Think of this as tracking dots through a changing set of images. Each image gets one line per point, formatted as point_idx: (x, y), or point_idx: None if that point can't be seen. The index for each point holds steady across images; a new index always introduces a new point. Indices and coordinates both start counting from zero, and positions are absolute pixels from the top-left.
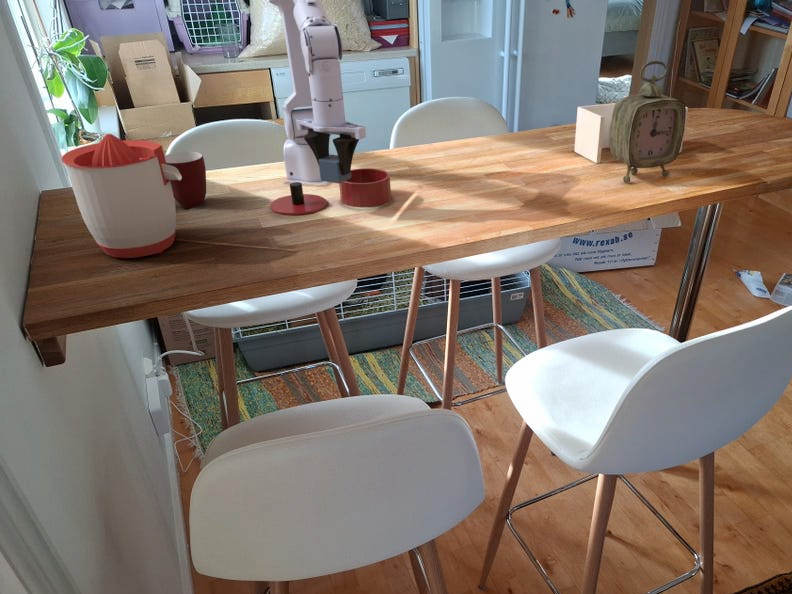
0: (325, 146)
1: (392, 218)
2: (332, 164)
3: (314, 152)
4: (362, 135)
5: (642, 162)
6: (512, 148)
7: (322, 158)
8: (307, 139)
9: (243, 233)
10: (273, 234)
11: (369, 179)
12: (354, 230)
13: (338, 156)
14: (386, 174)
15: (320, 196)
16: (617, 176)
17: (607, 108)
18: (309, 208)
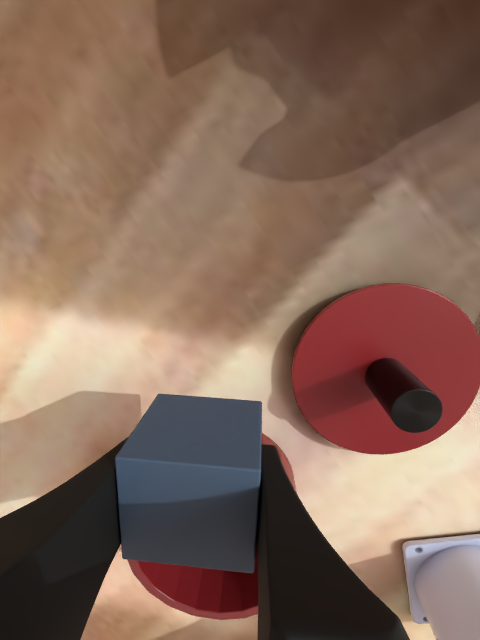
0: (259, 612)
1: (85, 402)
2: (156, 451)
3: (296, 517)
4: None
5: None
6: None
7: (250, 498)
8: (353, 616)
9: (439, 93)
10: (329, 139)
11: (243, 572)
12: (118, 285)
13: (83, 496)
14: (158, 587)
15: (348, 448)
16: None
17: None
18: (322, 350)
